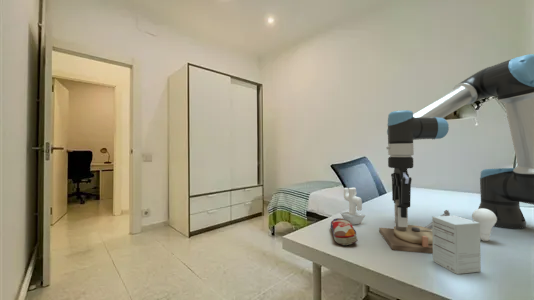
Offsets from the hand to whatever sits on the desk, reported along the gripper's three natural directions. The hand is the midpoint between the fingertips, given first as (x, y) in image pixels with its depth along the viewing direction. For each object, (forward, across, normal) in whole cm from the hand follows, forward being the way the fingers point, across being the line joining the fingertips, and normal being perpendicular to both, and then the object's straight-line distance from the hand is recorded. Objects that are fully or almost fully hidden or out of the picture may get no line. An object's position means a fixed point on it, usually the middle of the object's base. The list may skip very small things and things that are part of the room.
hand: (400, 224), depth 80 cm
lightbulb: (+6, -6, +28) cm, 29 cm away
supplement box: (+6, +16, +8) cm, 19 cm away
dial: (+4, 0, +5) cm, 6 cm away
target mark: (+4, +7, +5) cm, 10 cm away
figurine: (+6, -18, -14) cm, 23 cm away
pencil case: (+6, 0, -19) cm, 20 cm away
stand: (+6, 0, +4) cm, 7 cm away
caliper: (+6, -17, +17) cm, 25 cm away
